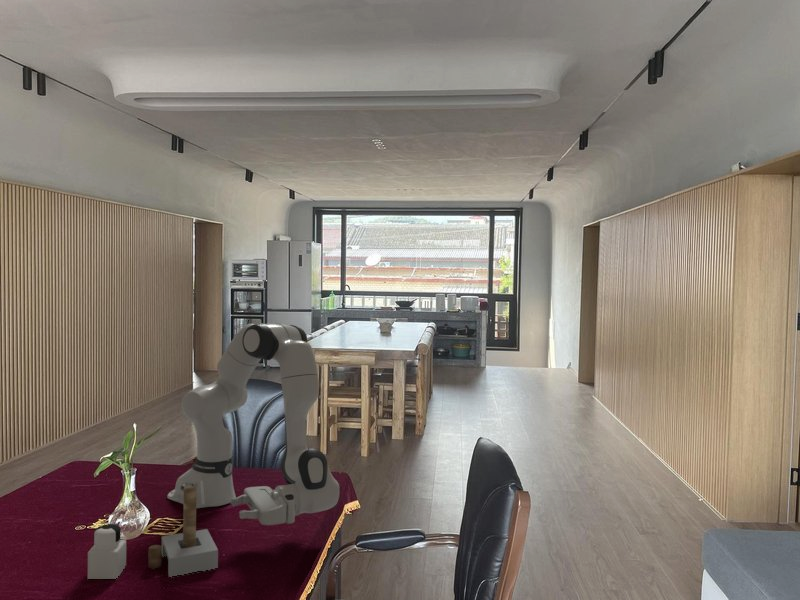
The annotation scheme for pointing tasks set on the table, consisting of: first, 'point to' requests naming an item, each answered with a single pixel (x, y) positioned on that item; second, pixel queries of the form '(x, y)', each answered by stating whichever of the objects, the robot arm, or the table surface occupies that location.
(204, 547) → the tissue box
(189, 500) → the long oak pin
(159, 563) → the short walnut pin
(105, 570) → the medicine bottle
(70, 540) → the table surface
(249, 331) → the robot arm
